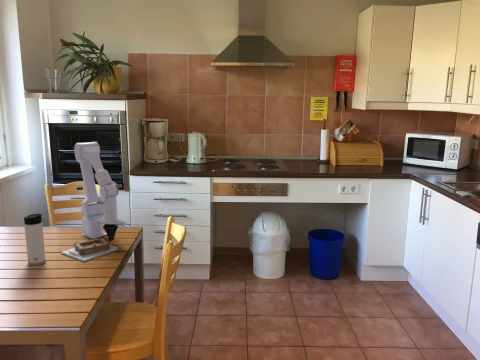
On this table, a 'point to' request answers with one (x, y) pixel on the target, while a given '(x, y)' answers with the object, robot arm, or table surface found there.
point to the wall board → (87, 257)
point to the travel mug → (34, 239)
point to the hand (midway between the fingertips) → (111, 240)
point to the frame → (91, 246)
